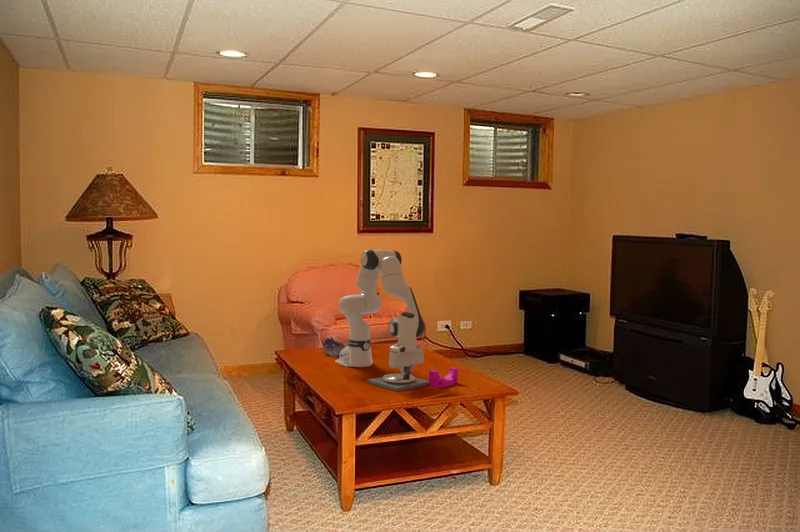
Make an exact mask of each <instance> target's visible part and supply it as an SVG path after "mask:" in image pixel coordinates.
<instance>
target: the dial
mask: <svg viewBox="0 0 800 532" xmlns="http://www.w3.org/2000/svg"><path fill="white" fill-rule="evenodd" d="M403 370H404V372H406V373H405V374H406V375H404V376H402V375H401V372H400V373H399V372H398V373H397V372H396V373H388V374H384V375H383V376H382V377H383V381H384V382H387V383H393V384H407V383H412V382H414V381H415V377H416V376H415V375H412V374H410V367H409V366H405V367H404V369H403Z"/></svg>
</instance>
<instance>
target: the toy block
mask: <svg viewBox="0 0 800 532" xmlns="http://www.w3.org/2000/svg"><path fill="white" fill-rule="evenodd" d="M428 372H429V373H428V381H429V385H428V386H431V387H433V388H436V389H437V388H445V386H446V387H452V386H451V385H453V386H454V383H455V384H458V383H459V368H457V367H454V366H452V367H449V371H448V373H447V375H445V376H444V377H441V376H440V373H439V371H438V370H436V369H431V370H429V371H428Z"/></svg>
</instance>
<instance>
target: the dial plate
mask: <svg viewBox="0 0 800 532" xmlns="http://www.w3.org/2000/svg"><path fill="white" fill-rule="evenodd" d="M366 383H368V384H370V385H374V386H377V387H382V388H384V389H387V390H391V391H394V392H401V391H407V390H411V389H416V388H421V387H426V386H430V385H429V380H425V379H422V378H418V377H416V376H415V381H414V382H412V383H407V384H393V383H387V382H384V381H383V376H381V377H375V378H370V379H367V380H366Z"/></svg>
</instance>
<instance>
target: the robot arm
mask: <svg viewBox="0 0 800 532" xmlns="http://www.w3.org/2000/svg"><path fill="white" fill-rule="evenodd" d="M402 262H403V261H402V255H401V253H400V252H399V251H397V250H394V249H392V250H390V249H383V248H382V249H365V250H364V251H363V252H362V253H361V256H360V263H361V265H360V267H359V269H358V270H359V271H358V274H357V278H356V281H355V282H356V283H355V284H356V287H357V288H358V289H359V290H360V291H361V293H359V294H349V295H345V296H342V297H341V298H340V299H339V301H338V309H339V312H341V314H342V315H344V316H345V318H346V320H347V322H348V326H349V339H348V340H346V342H347V346H346V345H345V348H344V349H343V350H342V351H341V352H340V356H338V357H339V358H338V359H336V360H335V361H334V362H335V363H337V364H339V365H342V366H344V367H346V368H347V367H348V368H350V367H351V368H352V367H355V368H365V367H371V366H373V363H374V360H373V358H372V348H371V344H372V343H371V342H372V341H371V338H370V337H371V326H370V325H369V324H370V323H368V322H366V321H365V320H364V318H363V315H368V314H369V315H370V314H374V313H377V312H380V310H381V308H382V299H381V297H380V296H379V295H378V294H377V286H378V280H379V278H380V276H381V285H382V288H383V290H384V291H385V292H386V293H387V294H389V295H390V296H392V297H393V296H394V297H396V298H399V300H402V301H403V302H405V304H406V307H407V310H408V312H407V311H405V312H401V313H400V314H399V315H398V316H396V317H394V318H391V319H390V321H389V322H388V325H387V327H388V328H387V329H388V333H389V334H390V335H391V336H392V337H394V338H398V339H397V342H396V343H395V344H393V345H391V346H389V351H390V352H389V354H388V355H389V356H388V357H389V358H388V365H389V367H390V368H392V369H399V371H400V374H401V375H402V376H404V375H406V374H405V373H406V372H404V367H405V366H409V367H410V375H412V374H413V371H414V369H415V366H417V365H421V364H423V363H424V362H425V357H424V356H425V355H424V354H425V353H424V348H423V346H422V345H421V344H417V338H419V337H421V336H422V335H423V334H424V333H425V331H426V324H425V321H424V319H423V317H422V315H421V313H420V309H419V307H418V306H419V305H418V303H417V299H416V297H415V294H414V291H413V289H412V288H411V287H410V286H409V285H408V284H407V283H406V280H405V278H404V273H403V269H402Z"/></svg>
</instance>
